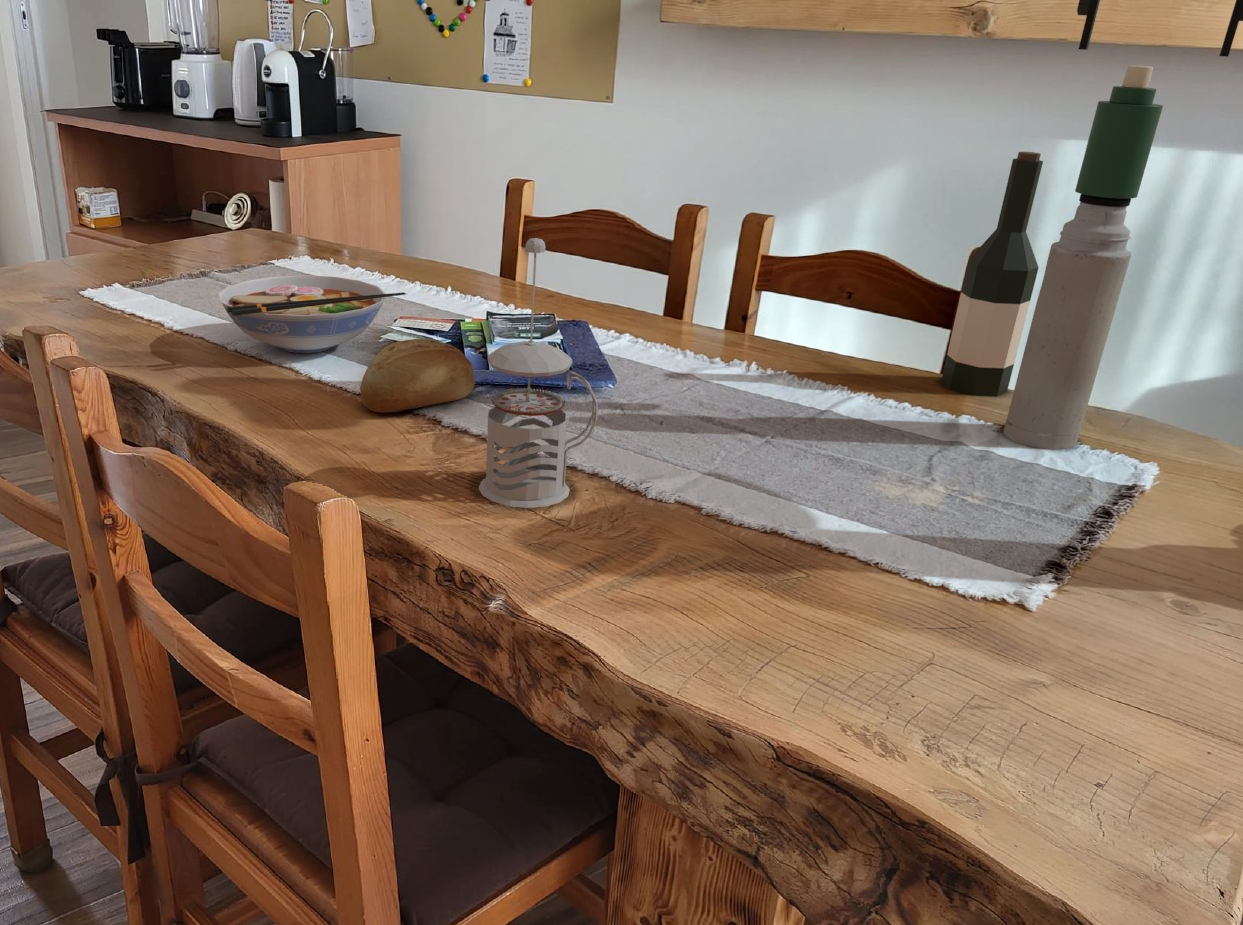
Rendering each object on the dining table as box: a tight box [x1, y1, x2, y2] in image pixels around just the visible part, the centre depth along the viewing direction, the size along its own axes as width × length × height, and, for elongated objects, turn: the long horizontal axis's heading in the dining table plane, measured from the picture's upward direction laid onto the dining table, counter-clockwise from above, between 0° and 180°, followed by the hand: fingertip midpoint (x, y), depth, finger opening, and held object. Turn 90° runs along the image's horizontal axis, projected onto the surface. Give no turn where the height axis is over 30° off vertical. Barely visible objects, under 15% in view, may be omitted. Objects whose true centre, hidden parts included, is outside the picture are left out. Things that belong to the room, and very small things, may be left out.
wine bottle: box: [940, 151, 1044, 398], centre depth 138 cm, size 8×8×30 cm
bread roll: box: [359, 338, 476, 414], centre depth 129 cm, size 10×15×8 cm, turn 124°
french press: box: [478, 237, 599, 509], centre depth 103 cm, size 10×12×25 cm
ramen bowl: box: [217, 274, 407, 354], centre depth 149 cm, size 25×23×8 cm
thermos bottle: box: [1003, 194, 1132, 451], centre depth 122 cm, size 8×8×28 cm
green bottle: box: [1074, 65, 1164, 200], centre depth 112 cm, size 6×6×12 cm
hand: (1151, 53), depth 117 cm, fingers open, 13 cm apart
